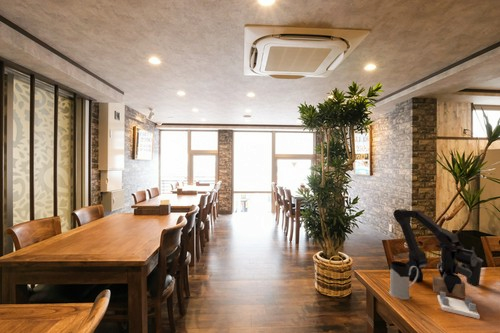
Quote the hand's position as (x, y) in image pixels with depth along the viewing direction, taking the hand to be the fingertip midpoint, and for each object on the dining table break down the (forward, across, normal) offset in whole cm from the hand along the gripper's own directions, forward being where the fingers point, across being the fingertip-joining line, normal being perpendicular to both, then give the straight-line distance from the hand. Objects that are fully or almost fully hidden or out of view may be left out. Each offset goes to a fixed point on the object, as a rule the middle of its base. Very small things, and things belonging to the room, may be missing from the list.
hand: (448, 289), depth 117 cm
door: (+2, 0, 0) cm, 2 cm away
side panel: (+2, -14, 0) cm, 14 cm away
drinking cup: (+2, +20, -14) cm, 24 cm away
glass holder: (+2, -12, +19) cm, 23 cm away
